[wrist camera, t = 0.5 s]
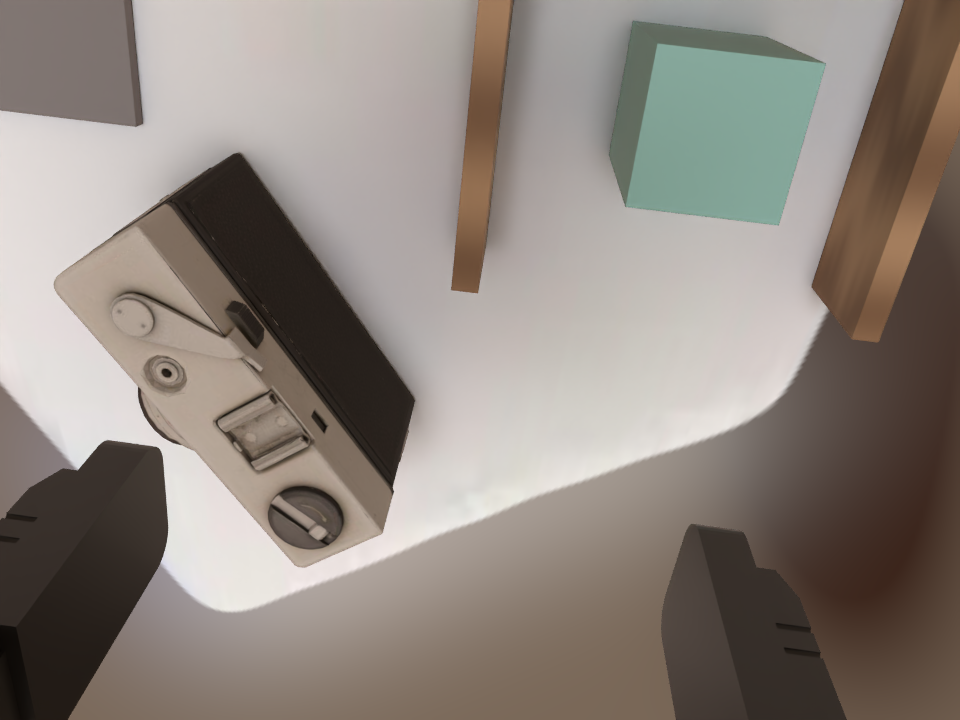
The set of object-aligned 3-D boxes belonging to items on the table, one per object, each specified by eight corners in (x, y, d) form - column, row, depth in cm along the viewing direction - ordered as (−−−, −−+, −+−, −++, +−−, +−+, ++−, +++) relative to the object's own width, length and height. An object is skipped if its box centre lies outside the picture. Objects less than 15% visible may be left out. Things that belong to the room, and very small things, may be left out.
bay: (500, -138, 28) (493, -152, 23) (962, -84, 28) (1042, -86, 23) (462, 244, 34) (451, 290, 30) (834, 289, 34) (878, 342, 30)
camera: (99, 236, 35) (-47, 337, 27) (243, 143, 33) (136, 220, 24) (287, 467, 41) (218, 614, 32) (424, 401, 38) (389, 540, 30)
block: (633, 21, 30) (657, 43, 24) (766, 36, 30) (825, 63, 24) (608, 154, 32) (625, 206, 26) (732, 169, 32) (778, 225, 26)
